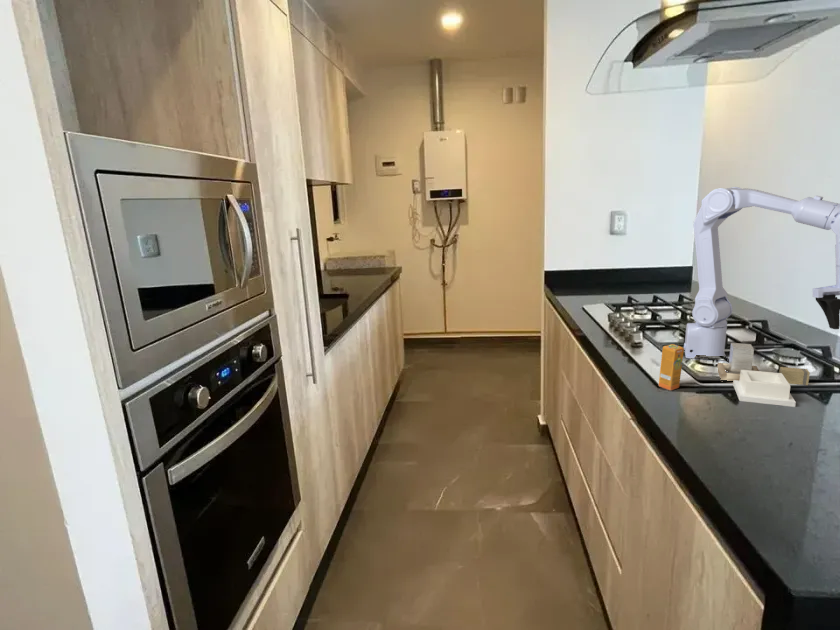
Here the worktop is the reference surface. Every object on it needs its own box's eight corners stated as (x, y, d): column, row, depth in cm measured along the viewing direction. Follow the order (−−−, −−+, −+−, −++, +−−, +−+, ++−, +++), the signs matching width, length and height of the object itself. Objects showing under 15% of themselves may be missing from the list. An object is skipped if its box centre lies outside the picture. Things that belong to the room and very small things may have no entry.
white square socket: (739, 401, 102) (741, 383, 101) (732, 384, 111) (734, 367, 110) (795, 407, 98) (797, 388, 97) (783, 389, 107) (786, 372, 106)
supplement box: (671, 391, 109) (674, 349, 107) (658, 386, 112) (661, 345, 110) (681, 388, 110) (684, 346, 108) (667, 383, 113) (670, 343, 111)
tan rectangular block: (780, 382, 110) (782, 370, 109) (778, 378, 112) (780, 366, 111) (807, 385, 108) (809, 372, 107) (804, 381, 110) (806, 369, 109)
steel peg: (729, 379, 114) (733, 347, 112) (727, 374, 117) (730, 342, 115) (750, 381, 112) (753, 349, 110) (747, 375, 115) (750, 344, 113)
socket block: (721, 381, 113) (721, 373, 112) (717, 370, 120) (717, 362, 119) (762, 385, 109) (763, 377, 109) (755, 373, 116) (756, 365, 116)
